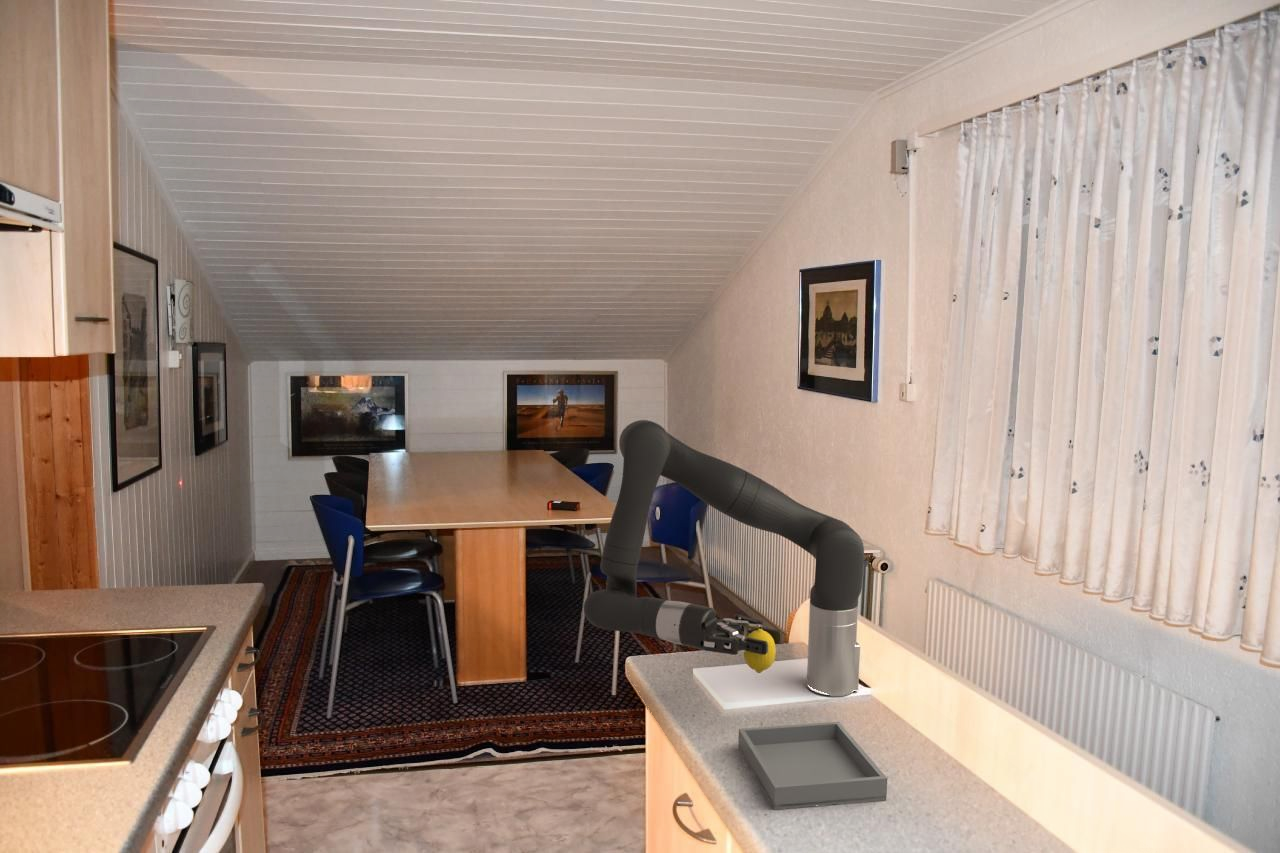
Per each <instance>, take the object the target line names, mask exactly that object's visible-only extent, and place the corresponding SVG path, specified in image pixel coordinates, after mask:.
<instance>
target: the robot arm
mask: <svg viewBox="0 0 1280 853" xmlns="http://www.w3.org/2000/svg"><path fill="white" fill-rule="evenodd" d="M618 441H619V442H618V443H619V450H620V454H621V455H622V456H621V457H623V464H622V465H623V466H622V467H623V469H622V478H621V485H620V490H619V494H618V498H617V501H616V505H615V508H614V510H613V513H612V516H611V520H610V523H609V525H608V528H607V533H606V536H605V540H604V545H603V550H602V554H601V560H600V571H601V573H602V574H604V575H605V576H606V588H605V589H604V588H603V589H599V590H595V591H594V592H592V593H590V594H589V595H588V596H587V598H586V599H585V601H584V603H583V613H584V616H585V618H586V619H587V621H588V622H589V623H590V624H591V625H593V626H594V627H596V628H599V629H602V630H608V631H614V632H626V633H634V634H635V633H636V634H641V635H644V636H647V637H651V638H656V639H661V640H664V641H666V642H668V643H669V642H670V643H672V644H675V645H681V646H685V647H688V648H689V647H690V648H694V649H697V650H703V651H706V652H712V653H719V654H725V655H734V656H736V655H738V654H739V652H740V653H744V652H745V651H749V652H753V653H758V654H762V655H765V654H766V653H767V652H768V643H767V642H766V641H763V640H758V639H753V638H749V637H748V635H749V634H750V633H752V632H753V631H756V630H758V629H762V630H763V631H766V632H767V633H769V634H770V635H771V636H772V638H773V640H774V643H775V645H776V644H777V645H779V644H780V643H781V642H782V634H783V633H782V631H781V630H777V629H773V628H769V627H764V626H763V625H764V621H763V620H759V619H756V618H753V617H749V616H745V615H743V614H739V613H738V614H734V619H733V618H728V617H727V618H726V617H724V618H720V617H719V615H718V613H717V611H716V610H715V608H713V607H709V606H704V605H699V604H695V603H690V602H685V601H684V602H683V601H677V600H669V599H662V598H657V597H652V596H639V597H637V595H638V594H637V591H638V589H637V588H638V587H637V586H638V585H637V584H638V583H637V582H638V580H637V570H638V566H639V562H640V558H641V554H642V548H643V542H644V540H645V533H646V528H647V522H648V519H649V518H648V517H649V512H650V510H651V509H650V508H651V505H652V501H653V498H654V494H655V491H656V489H657V485H658V483H659V480H660V477H663V478H665V479H669V480H670V481H672V482H674V483H676V484H678V485H679V486H681V487H683V488H684V489H685V490H686V491H689V493H691V494H693V495H694V497H696V498H698V499H699V500H701V501H702V502H704V503H705V504H706V505H709V506H710V507H712V508H713V509H714V510H717V511H719V512H720V513H722V514H724V515H726V516H727V517H729V518H731V519H733V520H735V521H737V522H739V523H742V524H744V525H746V526H749V527H751V528H754V529H758V530H762V531H765V532H769V533H772V534H776V535H778V536H780V537H783V538H785V539H786V540H788V541H790V542H792V543H793V544H795V545H796V546H798V547H800V548H801V549H803V550H804V551H805V552H807V553H809V554H810V555H811V556H812V557H813V558H814V559H815V567H814V568H815V571H814V581H813V586H811V588H810V591H809V614H808V615H809V618H808V619H809V620H808V643H807V644H808V646H807V670H806V671H807V672H806V685H807V684H808V685H809V686H810V687H812V688H813V689H816V690H818V691H821V692H824V693H827V694H829V695H830V696H829V697H844V696H849V695H850V693H851V692H852V691H853V690H858V691H859V685H860V684H859V681H860V680H859V678H860V662H861V661H860V660H861V659H860V658H861V645H860V643H859V642H857V639H858V638H857V637H858V636H857V634H858V610H859V598H860V595H861V592H862V591H863V578H864V565H865V564H864V563H865V549H864V543H863V540H862V538H861V536H860V535H859V534H858V533H857V532H856V531H855V530H854V529H853V528H852V527H851V526H850V525H849V524H847V523H846V522H844V521H843V520H840V519H838V518H835V517H832V516H830V515H828V514H827V515H826V514H824V513H821V511H820V512H819V511H816V510H814V509H812V508H810V507H807V506H805V505H803V504H801V503H800V502H797V501H796V500H794V499H793V498H791V497H790V496H789V495H788V494H786V493H784V492H782V490H780V489H778V488H777V487H775V486H774V485H772V484H770V483H768V482H767V481H765V480H763V479H761V478H760V477H758V476H756V475H755V474H752V473H750V472H749V471H747V470H745V469H743V468H741V467H739V466H736V465H734V464H732V463H730V462H727V461H725V460H722V459H720V458H717V457H715V456H712V455H709V454H707V453H703V452H701V451H698V450H696V449H695V448H692V447H691V446H689V445H687V444H685V443H684V442H682V441H681V440H679V439H677V438H676V437H674V436H673V435H671V434H670V433H669V432H668V431H667V430H666V429H665V428H664V427H663V426H662V425H660V424H658V423H657V422H654V421H652V420H648V419H640V420H635V421H633V422H631V423H629V424H627V426H625V428H623V430H622V432H621V433H620V435H619V440H618ZM742 632H743V635H742ZM747 637H748V638H747ZM746 638H747V639H746ZM852 693H853V692H852ZM852 693H851V694H852Z"/></svg>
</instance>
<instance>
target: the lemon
mask: <svg viewBox="0 0 1280 853" xmlns="http://www.w3.org/2000/svg"><path fill="white" fill-rule="evenodd" d="M748 637H749V638H753V639H758V640H763V641H766V642H767V643H768V652H767V653H766V654H765V655H762V654H758V653H753V652H749V651H745V652H743V658H744V661H745V664H746V665H747V666H748V667H749V668H750V669H752V670H754V671H755V672H756V673H757V674H761V673H762V672H763V671H767V670H768V669H770V667H771V666H772V665H773V664H774V663H775V659H776V652H777V651H776V650H777V649H776V643H774V640H773V638H772V636H771V635H770V634H769V633H767V632H766V631H763V630H762V629H758V630H756V631H753V632H752V633H749V635H748ZM748 637H747V638H748ZM747 638H746V639H747Z"/></svg>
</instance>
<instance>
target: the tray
mask: <svg viewBox="0 0 1280 853" xmlns="http://www.w3.org/2000/svg"><path fill="white" fill-rule="evenodd" d="M737 740H738V741H737V742H738V745H737V746H738V747H737V749H738V751H739V752H740V755H741V756H742V758H743V759H744V761H745V763H746V764H747V766H748V768H749V770H750V771H751V773H752V774H754V775H753V776H754V778H755V779H756V781H757V783H758V785H759V784H760V785H759V787H760V789H763V790H762V791H764V792H763V793H764V795H765V797H766V796H767V797H766V799H767V800H768V799H769V800H768V801H770V802H769V803H770V805H771V806H773V807H772V809H773V808H774V809H780V810H789V809H788V808H792V809H800V808H799V807H803V808H810V807H809V806H815V807H817V806H816V805H826V806H832V805H831V804H838V805H847V804H848V803H849V804H857V803H858V804H859V803H870V802H881V801H882V802H883V801H887V792H888V777H887V775H885V774H884V773H883V771H882V770H881V769H880V767H878V766H877V765H876V763H875V762H874V761H873V760H872V758H870V756H869V755H868V753H866V752H865V750H864V749H863V748H862V746H861V745H859V743H858V742H857V741H856V740H855V739H854V737H853V736H852V735H851V734H850V733H849V731H848V730H847V729H846V728H845V727H844V726H843V724H842V723H841V722H840V721H829V722H828V721H827V722H814V723H802V724H801V723H800V724H790V725H789V724H788V725H775V726H774V725H773V726H759V727H744V728H738V739H737ZM829 804H830V805H829ZM849 804H848V805H849ZM807 806H808V807H807ZM797 807H798V808H797ZM784 808H785V809H784ZM786 808H787V809H786ZM774 809H773V810H774Z"/></svg>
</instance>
